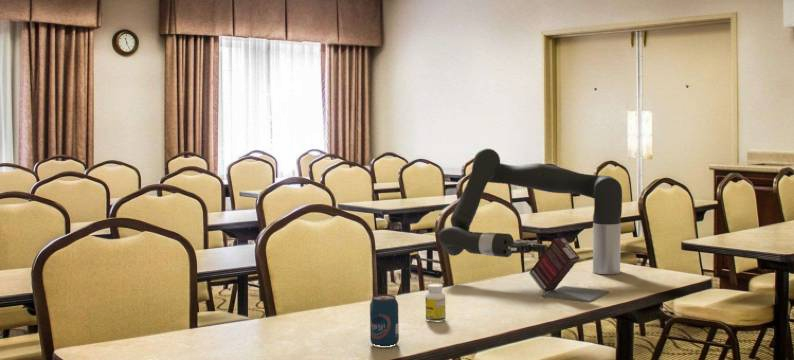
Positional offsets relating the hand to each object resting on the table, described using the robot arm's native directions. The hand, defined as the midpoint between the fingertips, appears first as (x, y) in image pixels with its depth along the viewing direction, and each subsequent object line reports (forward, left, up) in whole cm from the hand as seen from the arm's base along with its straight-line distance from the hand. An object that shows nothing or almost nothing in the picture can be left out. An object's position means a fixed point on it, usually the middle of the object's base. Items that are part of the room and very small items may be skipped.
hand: (545, 248), depth 281 cm
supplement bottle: (+50, -10, -14) cm, 53 cm away
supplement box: (0, -2, -11) cm, 11 cm away
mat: (0, +10, -14) cm, 17 cm away
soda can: (+78, -8, -14) cm, 80 cm away
